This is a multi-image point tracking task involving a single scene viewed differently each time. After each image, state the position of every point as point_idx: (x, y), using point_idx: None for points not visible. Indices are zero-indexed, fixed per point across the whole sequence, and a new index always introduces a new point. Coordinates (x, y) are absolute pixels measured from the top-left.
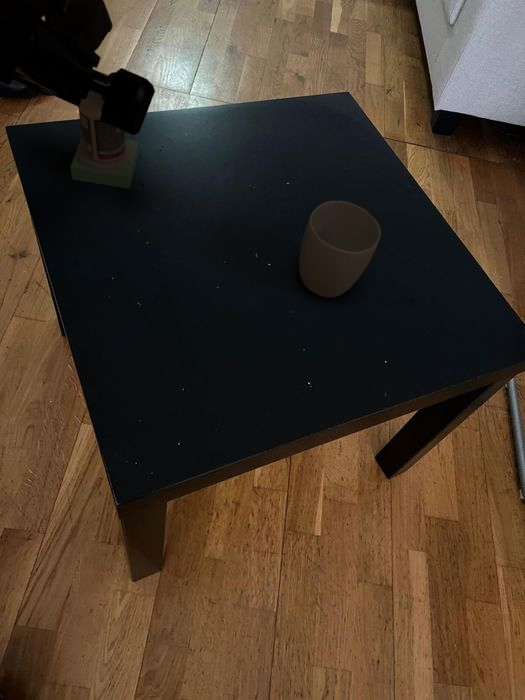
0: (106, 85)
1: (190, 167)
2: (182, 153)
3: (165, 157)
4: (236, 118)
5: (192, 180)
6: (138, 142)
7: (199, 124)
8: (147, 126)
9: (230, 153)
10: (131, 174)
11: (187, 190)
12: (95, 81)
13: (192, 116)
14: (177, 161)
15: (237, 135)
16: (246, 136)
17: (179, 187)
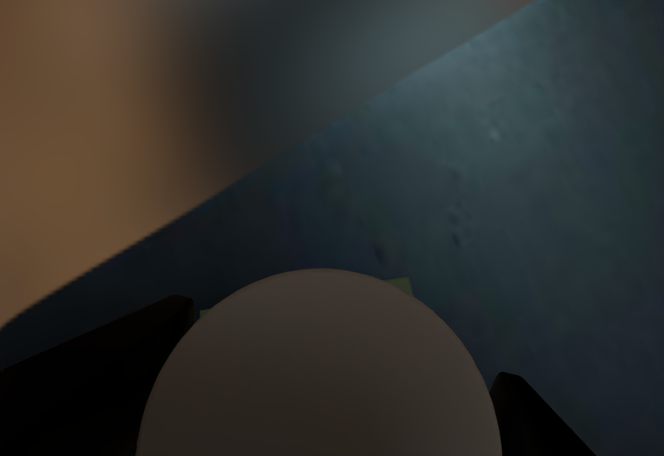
0: (401, 440)
1: (579, 282)
2: (524, 224)
3: (484, 267)
4: (590, 11)
5: (618, 346)
6: (409, 280)
7: (508, 75)
8: (369, 144)
9: (655, 163)
10: None
11: (629, 408)
12: (281, 422)
13: (473, 50)
14: (528, 270)
15: (631, 78)
16: (656, 72)
17: (597, 403)
